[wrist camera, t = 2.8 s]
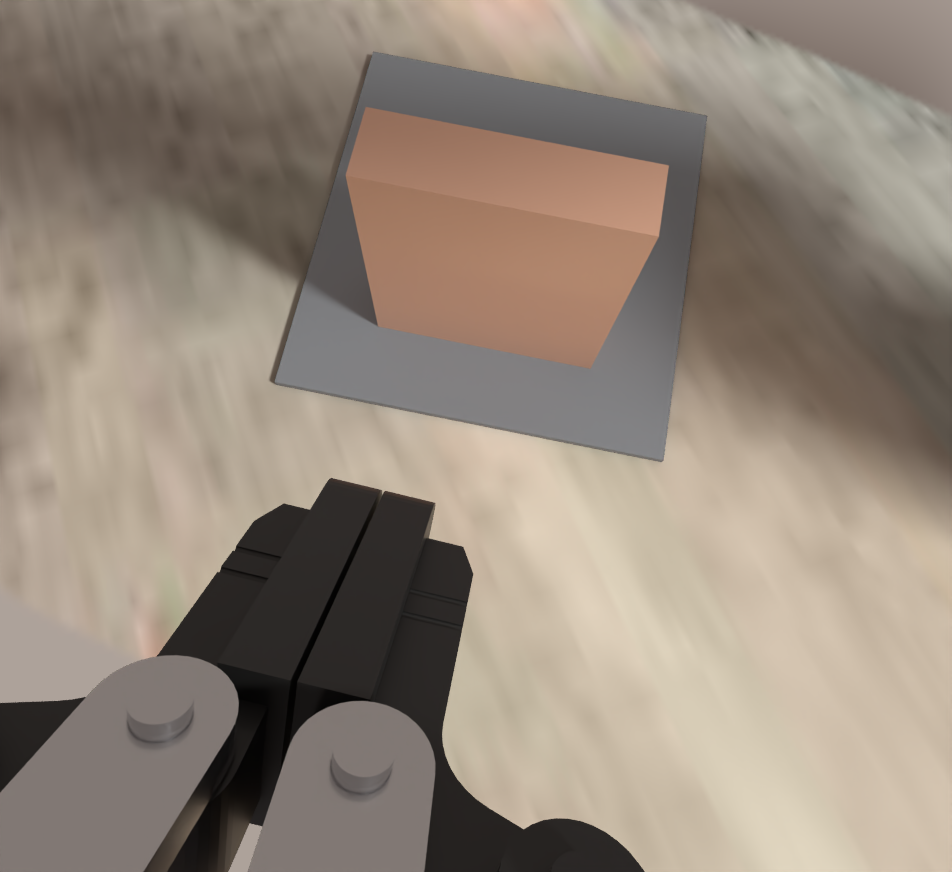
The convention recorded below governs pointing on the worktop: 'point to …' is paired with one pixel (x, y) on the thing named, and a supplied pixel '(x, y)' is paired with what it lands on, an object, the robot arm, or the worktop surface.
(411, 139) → the tile
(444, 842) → the robot arm
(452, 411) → the mat
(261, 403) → the worktop surface
